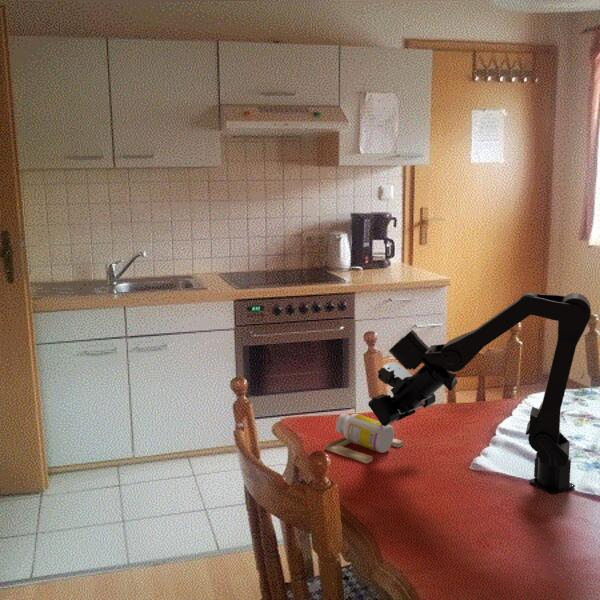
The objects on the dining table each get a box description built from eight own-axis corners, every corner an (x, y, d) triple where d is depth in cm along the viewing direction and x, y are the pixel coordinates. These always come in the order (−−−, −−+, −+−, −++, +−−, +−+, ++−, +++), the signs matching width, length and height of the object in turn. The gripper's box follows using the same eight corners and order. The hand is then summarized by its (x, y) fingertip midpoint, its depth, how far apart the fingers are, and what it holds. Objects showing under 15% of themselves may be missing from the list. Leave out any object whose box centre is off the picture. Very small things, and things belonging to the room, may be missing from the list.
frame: (403, 445, 168) (403, 440, 168) (366, 463, 158) (366, 457, 157) (362, 433, 176) (362, 428, 176) (325, 449, 166) (325, 444, 165)
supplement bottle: (398, 434, 166) (352, 418, 174) (390, 420, 162) (343, 403, 169) (384, 459, 164) (339, 441, 171) (376, 445, 159) (329, 427, 167)
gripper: (425, 345, 162) (385, 383, 172) (376, 362, 149) (335, 401, 158) (454, 385, 159) (412, 421, 168) (407, 406, 145) (363, 444, 154)
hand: (381, 421), depth 162 cm, fingers closed
